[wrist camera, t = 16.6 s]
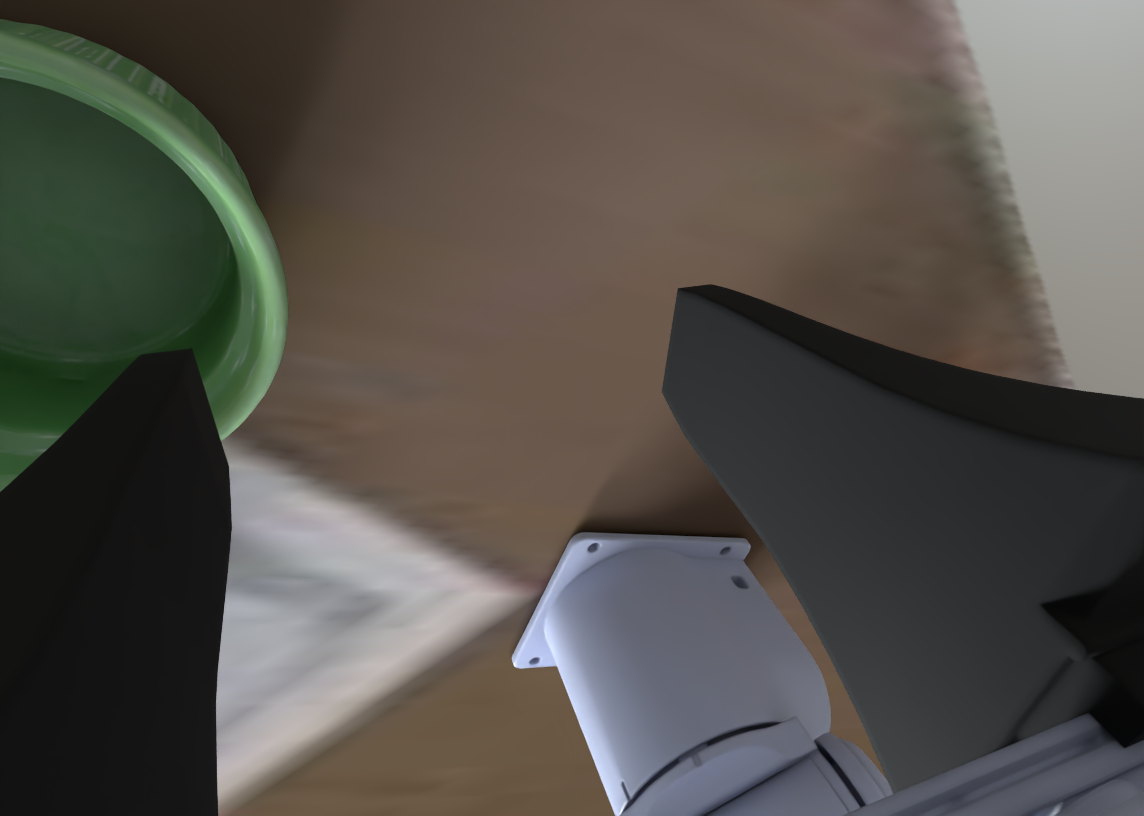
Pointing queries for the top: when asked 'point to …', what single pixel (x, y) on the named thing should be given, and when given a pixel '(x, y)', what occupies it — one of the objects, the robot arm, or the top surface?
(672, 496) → the top surface
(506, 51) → the top surface
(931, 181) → the top surface
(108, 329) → the ramekin
